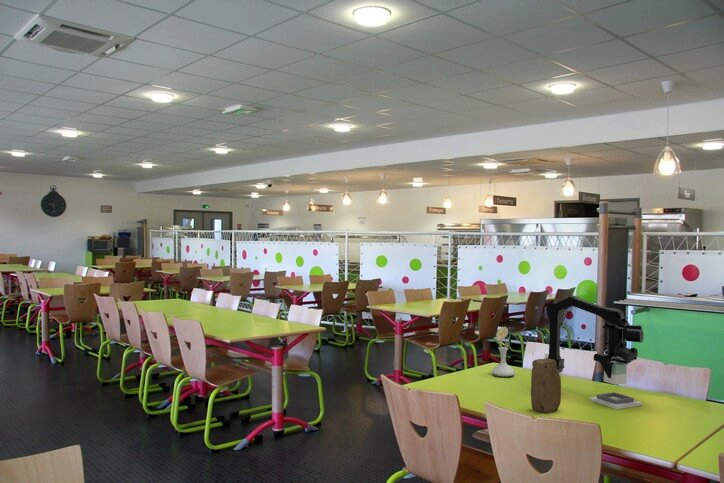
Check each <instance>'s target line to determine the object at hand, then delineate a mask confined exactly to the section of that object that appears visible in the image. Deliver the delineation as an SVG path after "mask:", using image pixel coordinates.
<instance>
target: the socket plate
mask: <svg viewBox="0 0 724 483" xmlns="http://www.w3.org/2000/svg"><path fill="white" fill-rule="evenodd" d="M588 398H589V399H588V401H591V402H594V403H596V404H599V405H602V406H605V407H609V408H612V409H615V410H621V409H622V410H623V409H627V408H634V407H635V408H636V407H640V405H641V406H643V405H642V404H643V403H642V402H641V401H638V400H635V397H631V396H628V395H625V394H622V393H618V392H614V391H612V392H606V393H605V392H604V393H599V394H596V395H595V396H590V397H588Z"/></svg>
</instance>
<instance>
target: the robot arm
mask: <svg viewBox="0 0 724 483" xmlns="http://www.w3.org/2000/svg"><path fill="white" fill-rule="evenodd" d="M571 307H574V308H577V309H579V310H582V311H585V312H588V313H591V314H593V315H596V316H597V317H599V318H601V319H602V320H604V321H606V323H605V324H604V325H603V326H602V329H607V341H604V342H605V345H607V350H606V351H604V352H605V353H603V352H600V353H599V352H598V353H594V354H593V361H594V362H598V363H600V365H601V366H602V368H603V371H604V370H605V372H606V375H607V377H608V378H611V372H612V365H613V364H614V363H613V362H612V361H613V360H615V361H616V362H620V363H624V364H626V366H627V365H628V364H630V363H632V362H633V361H635V360H636V361H637V359H638V358H637V357H638V354H639V352H638V348H636V347H631V348H629V347H628V348H627V346H626V345H627V344H626V342H631V343H640V344H641V343H643V342H644V336H645V335H644V334H645V333H644V330H643V325H639V324H638V325H634V324H633V325H632V324H630V323H629V321H628V320H627V319H626V318H625V314H624V312H623V310H621V309H618V308H614V307H607V306H601V305H599V304H596V303H593V302H590V301H587V300H584V299H582V298H579V297H577V296H575V295H572V296H569V297H567V298H565V299H562V300H560V301H554V302H551V303H548V304H547V305H546V309H545V310H546V317H547V320H548V322H549V328H548V329H549V335H548V336H549V338H548V343H549V344H548V352H549V355H548V358H547V359H553V360H555V361H556V363H557V364H556V365H557V366H556V367H557V370H558V372H559V373H561V374H562V372H563V371H564V368H565V358H562V357H561V350H560V349H561V322H562V320H563V317H564V312H565V311H566V310H567V309H569V308H571ZM623 339H624V340H625V341H626V342H624V340H623ZM562 370H563V371H562Z"/></svg>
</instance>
